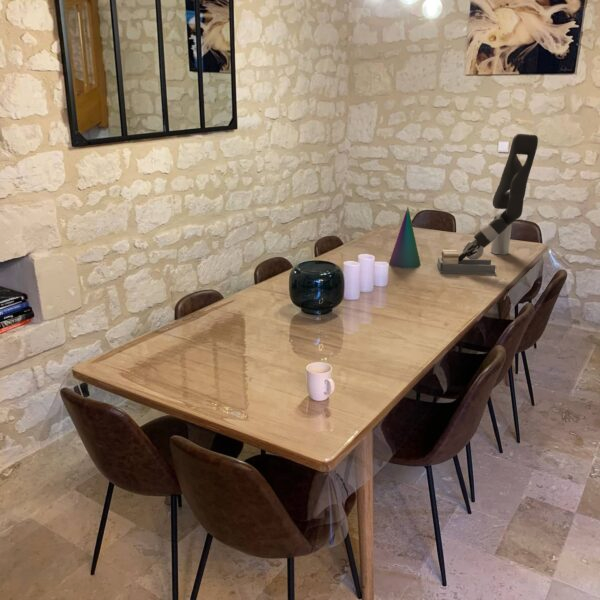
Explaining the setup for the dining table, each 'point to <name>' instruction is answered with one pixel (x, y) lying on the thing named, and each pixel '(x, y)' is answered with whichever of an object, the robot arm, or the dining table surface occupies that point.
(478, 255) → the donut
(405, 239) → the decorative cone
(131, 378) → the dining table surface
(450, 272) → the bay
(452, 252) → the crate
